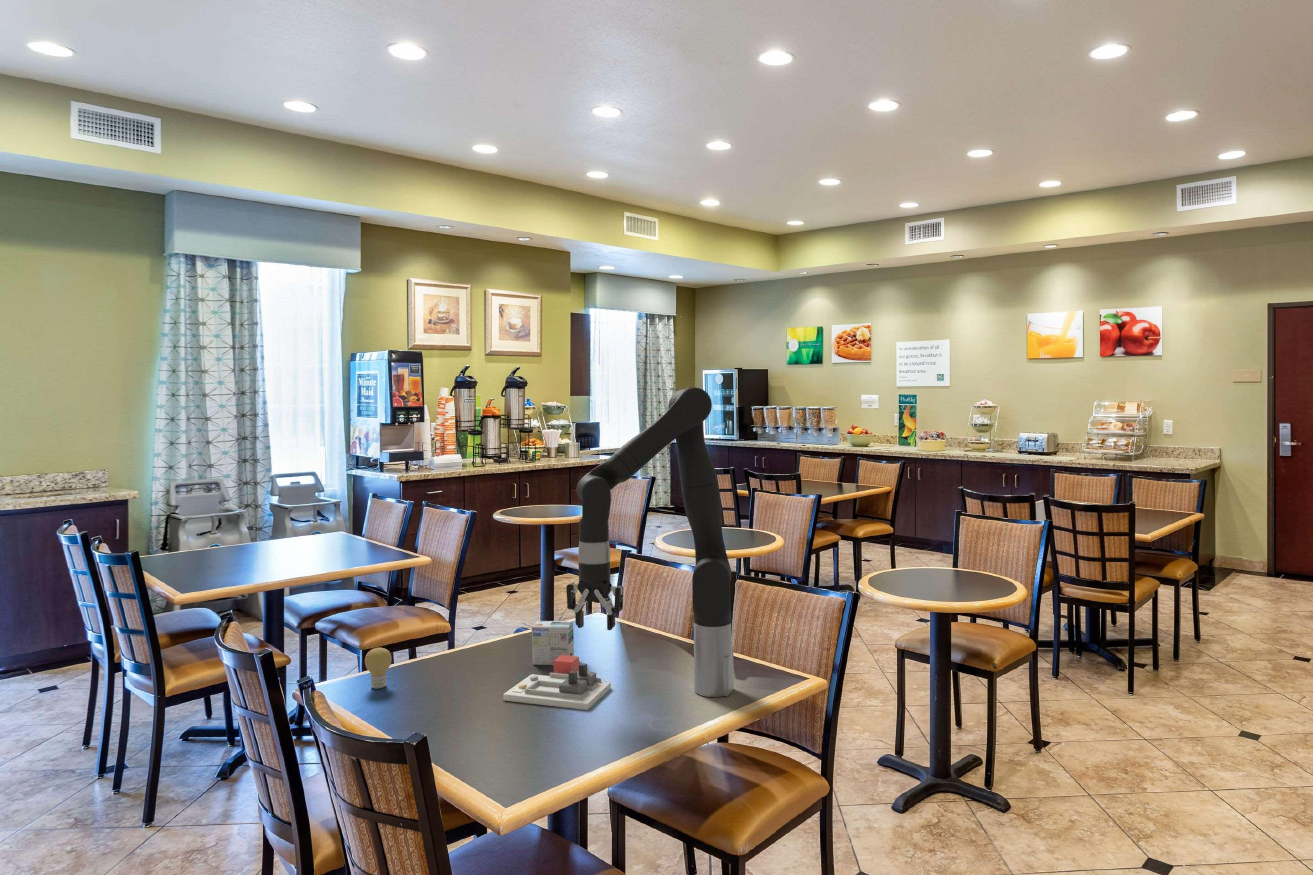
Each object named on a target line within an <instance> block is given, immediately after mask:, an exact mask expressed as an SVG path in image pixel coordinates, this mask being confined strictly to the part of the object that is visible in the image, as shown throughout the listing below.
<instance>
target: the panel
mask: <svg viewBox="0 0 1313 875" xmlns="http://www.w3.org/2000/svg"><path fill="white" fill-rule="evenodd" d="M566 679H568V674H559V673H554V672H549V675H541V674H530V675H528V676H527V677H526V678H524V679H522V680H521V681H520V682H519V683H516V685H514V686H513V687H511V688H509V690H507V691H506V692H504V693H503V694H502V696H503V700H502V701H507V702H513V703H514V702H516V703H521V704H522V703H524V704H531V705H541V706H550V707H557V708H558V707H559V708H566V709H575V710H576V709H577V710H583V711H584V710H586V711H589V709H591V707H592V706H593V705H595V704H596V703H597V702H598V701H599V700H600V699H601V698H602V697H604V695H606V694H607V693H608V692H609V691H610V690H611V689H612V682H610V681H609V682H608V681H602V677H599V676H598V677H597V672H594V671H588V663H583V662H581V663H579V671H577V679H579V680H587V691H585V692H584V693H583V694H582V695H580V694H571V693H562V692H559V685H560V684H561V683H562V682H564V681H565V680H566Z"/></svg>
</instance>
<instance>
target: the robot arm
mask: <svg viewBox="0 0 1313 875" xmlns="http://www.w3.org/2000/svg"><path fill="white" fill-rule="evenodd" d="M669 398H670V399H669V402H668V407H667V408H668V410H667V411H666V412H664V414H663V415H661V417H659V418H658V419H657V420H656V421H655V422H653V423H652V424H651V425H649V426H648V427H647V428H645V429H643V430H642V431H641V432H639V433H638V434H636V435H635V436H634V437H632V438H631V439H629V440H628V441H627V442H626V443H624V444H622V446H621V447H619V449H617V450H616V451H615V452H614V453H613V454H612V455H611V456H610V457H609V458H607V459H606V460H605V461H604V462H601V463H600V464H599V465H597V466H596V467H595V468H593V469H591V470H590V471H589V472H587V473H586V474H585V475H583V477H581V479H580V480H579V481H578V483H577V485H576V489H575V490H576V495H577V497H578V499H579V500H580V501H581V502H582V504H581V505H582V506H581V507H582V508H581V514H582V515H581V518H580V520H579V525H578V536H579V538H578V540H579V542H578V554H577V559H578V583H574V582H570V583H568V584H567V585H566V590H565V591H566V605H567V606H566V607H567V609H568V610H572V611H573V612H574V618H575V620H574V622H575V625H576V626H577V628H579V629H581V628H583V627H584V625H585V622H584V621H585V618H584V616H585V615H584V613H585V611H584V610H583V609H584V608H585V606H586V604H587V603H595V604H600V605H601V606H602V607H603V608H604V609H605V611H606V613H607V614H606V630H607V631H612V630H613V629H614V628H615V626H616V614H619V613H620V612H621V611H622V610H623V609H624V587H623V585H619V586H616V585H612V583H611V548H610V541H609V540H610V535H609V534H610V529H609V517H610V512H611V503H612V492H611V491H612V490H613V489H614V488H615V487H616V486H618V485H619V484H622V483H624V482H625V483H626V481H628V480H630V479H631V478H632V477H633V476H635V475H636V474H637V473H638V472H639V471H640V470H641V469H643V468H644V467H645V466H646V465H647V464H648V463H649V462H650V461H651V460H652V459H653V458H655V457H656V456H657V455H658V454H659V453H660V452H661V451H662V450H663V449H664V448H666V447H667V446H668V445H669V444H671V443H672V442H673V441H674V440H675V442H676V448H677V449H676V450H677V460H678V470H679V478H680V488H681V489H680V490H681V494H682V495H681V496H682V502H683V507H684V511H685V515H686V517H687V520H688V521H687V522H688V523H689V526H690V529H691V532H692V538H693V542H694V554H695V565H694V570H693V572H692V577H691V578H692V580H691V585H692V588H691V589H692V590H691V591H692V613H693V663H694V664H693V673H694V674H693V676H694V677H693V678H694V679H693V680H694V681H693V687H694V688H693V689H694V692H695V693H696V694H697V695H699V696H703V697H707V698H708V697H710V698H720V697H729V696H730V695H731V693H732V692H733V690H735V689H734V686H735V685H734V684H735V682H734V680H735V679H734V673H735V672H734V669H735V668H734V650H732V609H731V605H732V604H731V580H732V569H731V565H730V562H729V558H728V554H727V549H726V545H725V541H724V535H723V518H722V517H723V516H722V504H721V503H722V502H721V493H720V486H719V480H718V475H717V472H716V468H715V466H714V463H713V460H712V458H711V456H710V453H709V451H708V448H707V446H706V442H705V434H704V425H703V422H704V421H705V420H706V419H707V418H708V417H709V416H710V414H711V411H712V408H713V405H712V404H713V403H712V399H711V395H709V392H707V391H706V390H704V389H702V388H701V387H696V386H692V387H691V386H689V387H685V388H681V389H679V390H677V391H675V392H674V393H673V394H672V395H671V396H670V397H669ZM578 591H579V593H580V595H581V596H580V598H579V600H578V601H576V599H577V597H576V595H577V594H576V593H577V592H578ZM611 592H612V595H613V596H614V603H613V601H612V598H611V597H610V593H611Z"/></svg>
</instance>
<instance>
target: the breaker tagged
mask: <svg viewBox="0 0 1313 875" xmlns="http://www.w3.org/2000/svg"><path fill="white" fill-rule="evenodd" d="M585 691H587V680H579V679H577V671H570V672H569V673H568V679H566V680H565V681H564V682H562V683H561V684H560V685H559V692H562V693H571V694H580V695H582V694H583V693H584V692H585Z"/></svg>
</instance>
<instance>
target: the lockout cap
mask: <svg viewBox="0 0 1313 875" xmlns="http://www.w3.org/2000/svg"><path fill="white" fill-rule="evenodd" d="M579 665H580V656H576V655H574V656H568V655H561V656H559V657H558V658H557V659H555V660H554V665H553V673H559V674H568V673H569V672H570V671H579Z"/></svg>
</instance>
